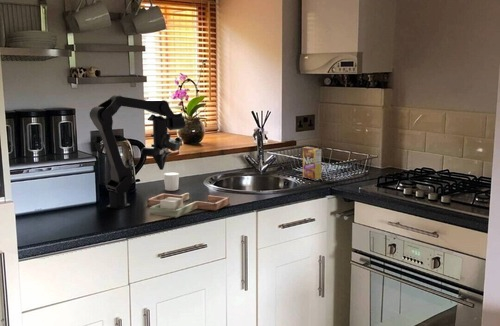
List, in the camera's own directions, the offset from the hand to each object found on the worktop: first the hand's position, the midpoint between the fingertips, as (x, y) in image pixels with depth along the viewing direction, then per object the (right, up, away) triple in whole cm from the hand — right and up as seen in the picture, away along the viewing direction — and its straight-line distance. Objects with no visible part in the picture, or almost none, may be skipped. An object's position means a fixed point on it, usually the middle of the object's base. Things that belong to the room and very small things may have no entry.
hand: (161, 169), depth 229 cm
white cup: (+1, -9, +19) cm, 21 cm away
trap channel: (+10, -14, -12) cm, 21 cm away
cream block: (+7, -16, -18) cm, 25 cm away
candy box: (+65, -6, +37) cm, 75 cm away
